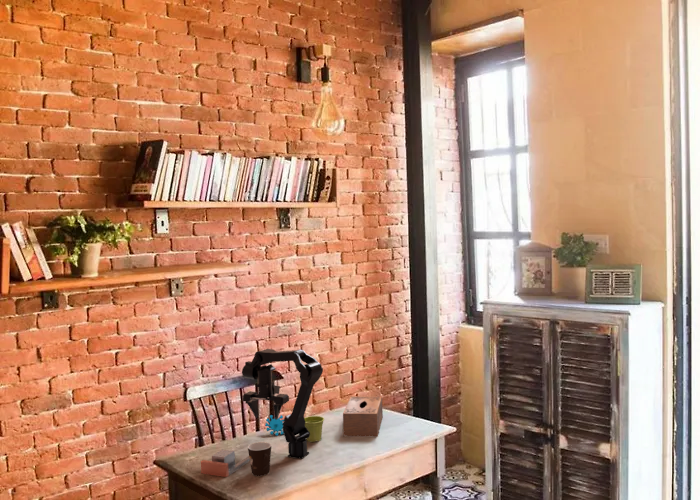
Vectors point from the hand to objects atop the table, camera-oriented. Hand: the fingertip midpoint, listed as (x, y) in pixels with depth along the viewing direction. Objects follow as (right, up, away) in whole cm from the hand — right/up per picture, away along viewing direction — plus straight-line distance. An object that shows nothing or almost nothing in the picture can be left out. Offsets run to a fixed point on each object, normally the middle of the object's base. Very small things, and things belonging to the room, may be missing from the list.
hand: (266, 418), depth 267 cm
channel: (-12, -13, -17) cm, 25 cm away
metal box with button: (-13, -14, -20) cm, 28 cm away
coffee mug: (+1, -14, -27) cm, 30 cm away
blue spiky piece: (+3, -11, +18) cm, 21 cm away
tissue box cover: (+40, -10, +23) cm, 47 cm away
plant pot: (+19, -11, +8) cm, 23 cm away
